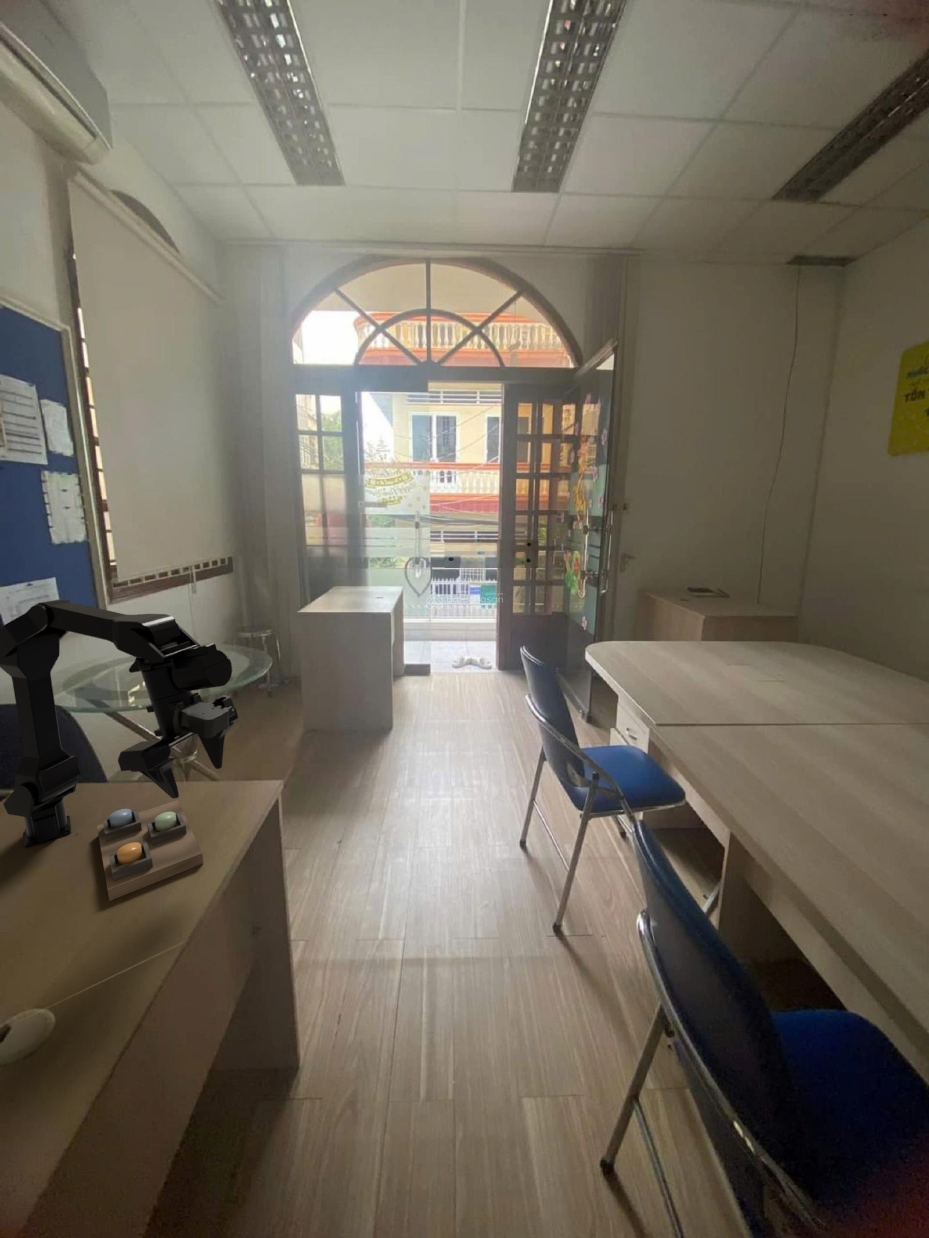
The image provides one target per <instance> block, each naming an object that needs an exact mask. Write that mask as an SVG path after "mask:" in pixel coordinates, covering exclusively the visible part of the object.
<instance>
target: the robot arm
mask: <svg viewBox="0 0 929 1238" xmlns="http://www.w3.org/2000/svg"><path fill="white" fill-rule="evenodd" d="M68 633H75V634H77V635H79V634H80V635H83V636H87V637H91V638H96V639H101V640H104V641H107V642H109V643H113V645H114V647H115V648H116V649H117V650H118V651H120V652H122V653H124V654H126V655H127V654H128V655H129V656H132V657H134V658H135V659H134V662H132V664H131V665H130V667H129V668H128V672H129V673H130V674H132V673H138V672H140V673H141V676H142V679H143V682H144V685H145V688H146V691H147V693H148V694H147V695H148V698H149V701H150V704H149V705H147V706H145V707H146V711H147V714H148V713H154V716H155V720H156V722H157V723H156V724H157V725H158V728H157V729H155V730H153V733H154V735H155V737H156V738H157V737H161V738H159V739H156V740H146V741H145V740H143V741H139V742H138V743H136V744H133V745H131V746H130V747H128V748H126V749H124V750H122V751H120V753H119V754H118V757H117V764H118V765H119V770H120V771H121V772H126V771H130V772H131V773H135V772H136V773H137V772H139V773H140V774H142V775H143V776H145V777H146V778H148V779H149V780H151V782H153V783H154V784H155V785H156V786H158V787H159V788H160V789H161V790H162V791H163V792H164V793H165V794H167V795H168V796H169V797H170V798H171V799H174V800H175V799H178V798H179V797H180V794H179V788H178V784H177V782H176V779H175V778H176V777H175V775H174V773H173V769H172V766H173V765H174V761H175V757H170V756H171V754H172V751H171V748H172V747H175V746H176V745H177V744H180V743H182V742H183V741H185V740H187V739H189V738H190V737H193V736H194V735H198V738H199V739H200V742H201V744H202V746H203V748H204V750H205V752H206V754H207V756H208V759H209V760H210V762H211V764H212V765H213V767H214V768H215V769H216V770H220V769H222V768H223V757H224V747H225V737H226V735H227V733H228V732H229V730H230V729H231V728H232V727H233V726H234V724H235V722H234V721H236V720H237V719H238V718H239V715H238V712H237V709H236V707H235V704H234V701H233V700H232V698H231V696H228V695H226V694H223V695H221V696H219V697H217V698H215V700H214V701H212V700H211V701H209V702H204V701H203V700H202V697H201V694H199V692H198V691H199V690H205V689H211V688H218V687H224V686H226V685H227V684H228V683H229V681H230V680H231V678H232V672H233V666H232V665H233V664H232V662H231V659H229V657H228V656H227V655H226V654H225V652H223V651H222V650H219V649H217V646H216V643H214V642H210V643H207V644H204V645H201V644H200V643H198V642H197V640H196V639H195V638H193V637H192V636H191V635H190V634H189V632H188V631H186V630H185V629H184V628H183V627H182V626H181V625H179V623H177V622H176V618H175V617H173V616H172V615H169V614H165V613H140V614H125V613H122V612H117V611H111V610H107V609H103V608H98V607H94V606H90V605H85V604H81V603H77V602H76V603H75V602H73V601H71V600H69V599H64V598H60V599H53V600H48V601H42V602H38V603H36V604H34V605H32V606H31V607H30V608H29V609H28V610H27V611H26V612H25V613H23V614H21V615H19V616H17V617H16V618H14V619H12V620H11V621H9V622H7V623H6V624H4V625H2V627H0V668H1V670H2V671H4V672H6V674H8V676H10V677H11V682H12V687H13V688H12V689H13V693H14V700H15V701H14V702H15V706H16V712H17V718H18V725H19V730H20V735H21V742H22V747H23V756H22V759H21V761H20V763H19V765H18V767H17V769H16V770H15V773H14V790H13V791H12V792H11V794H10V795H8V797H7V798H6V799H5V800H4V801H3V804H2V805H3V807H4V809H5V811H6V813H7V815H10V816H17V817H23V820H24V825H25V829H24V837H23V838H24V839H23V841H24V842H23V846H24V848H25V849H26V848H30V847H33V846H36V845H40V844H42V843H46V842H48V841H52V840H55V839H58V838H62V837H64V836H67V835H70V834H72V823H71V816H70V815H67V811H66V806H65V800H64V798H65V797H67V796H68V795H71V794H73V793H75V792H76V788H77V783H79V776H81V775H82V773H81V771H80V768H79V758H78V757H77V756H76V755H71V754H70V753H68V751H65V750H64V749H63V747H62V742H61V736H60V730H59V723H58V716H57V711H56V710H57V709H56V701H55V695H54V687H53V682H52V670H53V668H54V667H55V665H56V662H57V660H58V659H59V657H60V655H61V654H60V653H61V651H60V645H61V644H60V641H61V640H62V639H63V638H64V637H66V635H67V634H68ZM192 691H197V692H192Z"/></svg>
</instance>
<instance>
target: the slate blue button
mask: <svg viewBox="0 0 929 1238" xmlns="http://www.w3.org/2000/svg"><path fill="white" fill-rule="evenodd" d="M131 811H132V809H129V808H121V809H118V810H116V811H113V812H112V813H111V814H110V815H109V817H110V823H111V826H112V827H115V828H117V827H122V826H125V825H127V824H129V823H130V822H131V821H132V813H131Z"/></svg>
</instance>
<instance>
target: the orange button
mask: <svg viewBox="0 0 929 1238" xmlns="http://www.w3.org/2000/svg"><path fill="white" fill-rule="evenodd" d="M117 856H118V862H119V863H120V864H123V865H125V864H130V863H133V862H135V861H137V860H138V859H140V858H141V856H142V849H141V844H140V843H137V842H134V843H129V844H126V845H124V846H122V847H121V848H120V849H119V850H118V851H117Z"/></svg>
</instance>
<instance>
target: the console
mask: <svg viewBox="0 0 929 1238" xmlns="http://www.w3.org/2000/svg"><path fill="white" fill-rule="evenodd" d="M165 812H174V813H175V814H176V821H177V823H176V825H175V826H174V827H172V828H170V829H168V830H164V831H159V830H156V826H155V818H156V817H157V816H158V815H160V814H162V813H165ZM131 813H132V821H131V822H130V823H129V824H127V825H125V826H122V827H117V828H115V827H112V826H111V823H110V816H109V817H107V818H104V819H102V823H100V824H98V825H96V827H97V828H96V829H97V836H98V840H99V846H100V852H101V853H100V854H101V859H102V863H103V870H104V877H105V882H106V890H107V894H108V896H107V897H108V901H109V902H110V901H111V902H112V901H113V900H115V899H118V898H121V897H123V896H126V895H128V894H130V893H133V892H135V891H138V890H141V889H143V888H147V886H150V885H153V884H156V883H159V882H161V881H162V880H166V879H168V878H171V877H173V876H176V875H178V874H181V873H182V872H185V871H189V870H190V869H193V868H195V867H198V866H201V865H202V864H204V858H203V857H204V856H203V852H202V850H201V847H200V845H199V843H198V841H197V839H196V836H195V834H194V832H193V830H192V828H191V825H190V823H189V820H188V819H187V817H186V814H185V813H184V810H183V808H182V805H181V803H180V802H179V800H178V799H177V800H174V801H170V802H168V803H165V804H161V805H158V806H155V807H152V808H149V809H146V810H142V811H138V809H137V808H135V809H131ZM134 842H137V843H140V844H141V849H142V856H141V858H140V859H138V860H137V861H135V862H133V863H130V864H125V865H123V864H120V863H119V862H118V856H117V851H118V850H119V849H120V848H121V847H122V846H124V845H126V844H129V843H134Z"/></svg>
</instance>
